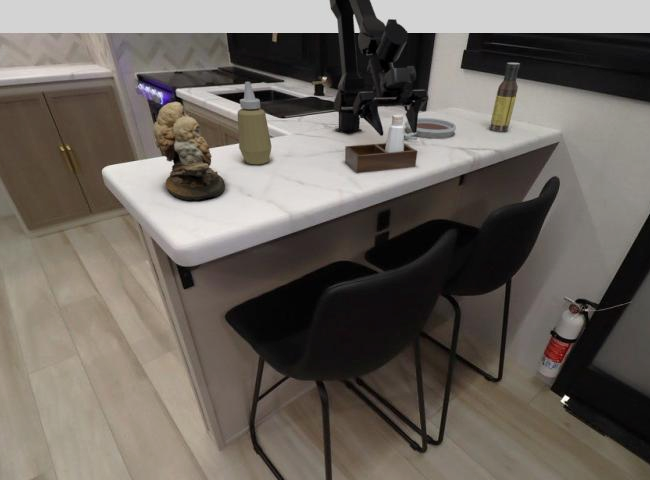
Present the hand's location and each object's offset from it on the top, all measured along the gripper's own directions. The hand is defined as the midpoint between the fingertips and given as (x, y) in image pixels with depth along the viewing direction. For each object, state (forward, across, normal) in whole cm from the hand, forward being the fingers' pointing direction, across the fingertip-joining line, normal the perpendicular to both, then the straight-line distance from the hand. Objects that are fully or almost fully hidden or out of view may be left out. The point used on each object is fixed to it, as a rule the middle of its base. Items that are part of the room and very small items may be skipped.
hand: (398, 133), depth 94 cm
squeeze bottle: (-3, -34, +14) cm, 37 cm away
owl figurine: (+7, -50, +4) cm, 50 cm away
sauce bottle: (-11, +51, +22) cm, 57 cm away
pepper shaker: (+4, 0, +6) cm, 7 cm away
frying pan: (-12, +21, +23) cm, 33 cm away
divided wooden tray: (+4, -4, +6) cm, 9 cm away
